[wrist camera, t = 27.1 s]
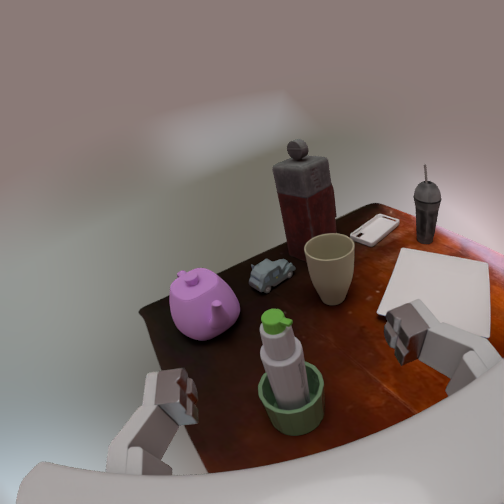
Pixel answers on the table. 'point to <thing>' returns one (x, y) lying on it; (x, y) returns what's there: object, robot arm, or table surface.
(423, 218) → the beverage cup
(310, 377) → the green cup
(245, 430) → the table surface
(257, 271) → the toy car
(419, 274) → the plate
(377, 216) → the phone case
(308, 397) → the bottle
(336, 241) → the mug
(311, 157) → the red grey decanter
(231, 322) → the teapot
